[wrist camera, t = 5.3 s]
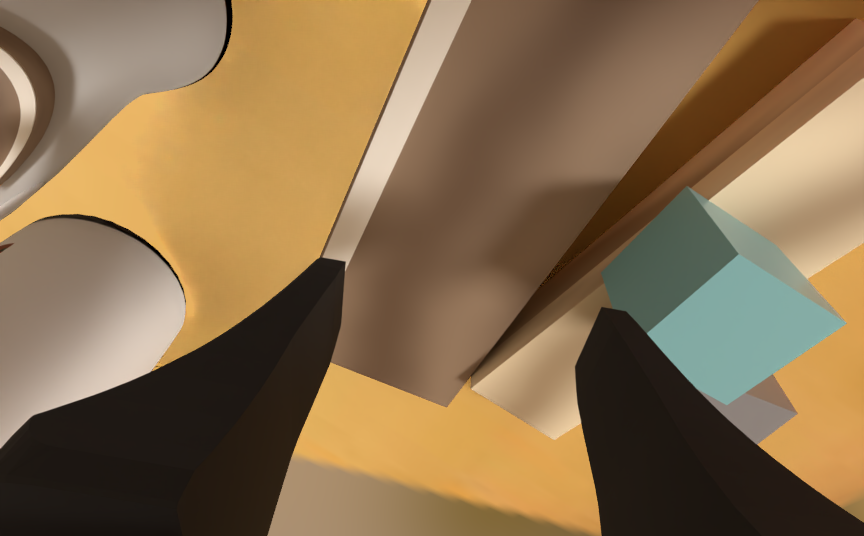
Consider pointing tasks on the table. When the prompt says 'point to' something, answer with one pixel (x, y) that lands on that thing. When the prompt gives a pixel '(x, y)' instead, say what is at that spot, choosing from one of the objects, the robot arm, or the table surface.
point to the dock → (499, 167)
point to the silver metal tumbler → (90, 73)
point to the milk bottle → (79, 313)
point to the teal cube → (717, 297)
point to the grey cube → (758, 409)
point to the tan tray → (729, 190)
